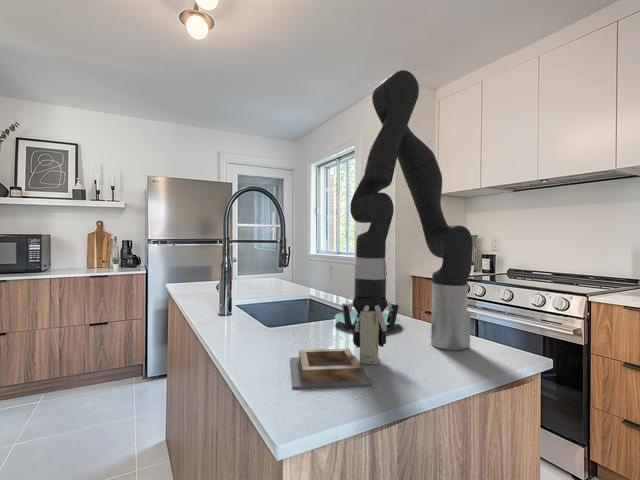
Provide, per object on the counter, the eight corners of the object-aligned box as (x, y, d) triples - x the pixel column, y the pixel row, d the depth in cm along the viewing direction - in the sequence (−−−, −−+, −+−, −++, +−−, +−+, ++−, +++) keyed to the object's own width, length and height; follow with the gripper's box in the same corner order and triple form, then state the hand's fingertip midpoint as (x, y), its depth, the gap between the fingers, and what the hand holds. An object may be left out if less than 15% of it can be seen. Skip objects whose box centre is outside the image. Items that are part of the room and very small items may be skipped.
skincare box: (377, 365, 78) (378, 313, 78) (359, 364, 79) (359, 312, 79) (378, 356, 84) (379, 307, 84) (361, 354, 85) (362, 306, 85)
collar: (348, 358, 81) (349, 348, 81) (360, 380, 69) (360, 367, 69) (299, 360, 80) (299, 349, 80) (302, 382, 68) (302, 369, 68)
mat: (355, 357, 83) (355, 355, 83) (372, 385, 68) (372, 383, 68) (290, 359, 82) (290, 357, 82) (292, 389, 66) (292, 387, 66)
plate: (363, 314, 130) (363, 307, 130) (414, 326, 114) (414, 318, 114) (321, 324, 115) (321, 316, 115) (372, 339, 99) (372, 330, 99)
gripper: (393, 274, 86) (392, 340, 86) (338, 274, 84) (337, 341, 85) (404, 278, 79) (403, 350, 79) (344, 278, 77) (342, 352, 77)
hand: (369, 345), depth 82 cm, fingers closed on skincare box, 5 cm apart
